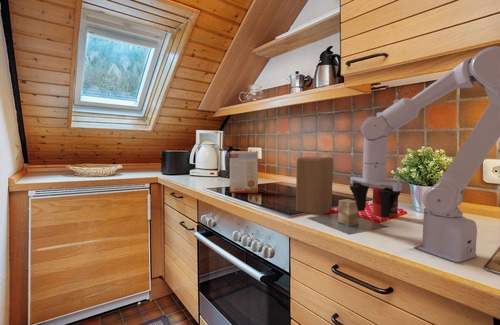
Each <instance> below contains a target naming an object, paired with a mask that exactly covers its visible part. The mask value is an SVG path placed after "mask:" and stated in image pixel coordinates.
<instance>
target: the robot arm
mask: <svg viewBox="0 0 500 325" xmlns="http://www.w3.org/2000/svg"><path fill="white" fill-rule="evenodd" d="M474 83H477V84H478V85H480V87H481V88H483V89H484V91H485V93H486V95H487V97H488V99H489V104H488V106H487V107H486V108H485V110H484V111H483V113H482V115H481V116H480V118H479V119H478V121H477V123H475V125H474V127H473V129H472V130H471V132H470V133H469V135H468V136H467V138H466V140H465V141H464V142H463V144H462V146H461V147H460V148H459V150H458V152H457V153H456V155H455V156H454V158H453V159H452V161H451V163H450V164H449V166H448V167H447V169H446V170H445V171H444V172H443V174H442V175H441V176H440V178H438V180H437V182H436V183H435V184H434V185H433V186H431V187H429V188H427V189H426V190H425V191H424V193H423V194H422V203H423V205H424V207H425V208H423V219H422V220H423V221H422V222H423V223H422V242H421V243H422V244H421V245H417V246H413V248H414V249H416V250H420V251H423V252H425V253H428V254H431V255H433V256H437V257H440V258H441V259H446V260H449V261H452V262H453V263H454V262H455V263H458V264H459V263H462V262H464V261H468V260H470V259H473V258H477V257H478V254H477V252H476V251H477V238H478V237H477V235H478V227H477V223H476V221H475V220H473V219H470V218H466V217H465V216H463V213H464V212H463V211H462V210H461V209H460V207H459V206H460V205H461V204H462V203H463V201H464V191H465V190H466V188H467V186H468V185H469V183H470V181H471V179H473V177H474V175H475V174H476V172H477V171H478V169H479V168H480V166H481V165H482V164H483V162H484V160H485V159H486V158H487V157H488V155H489V153H490V152H491V150H492V149H493V147H494V146H495V144H497V142H498V140H499V138H500V46H499V45H498V46H497V45H494V46H490V47H486V48H484V49H481V50H480V51H478V52H477V53H476V54H475V55H474V56H473V58H472V57H469V58H466V59H465V60H463V61H461V63H459V64H457V65H456V66H455V67H454V68H453V69H451V70H450V71H448V72H447V73H445V74H444V75H443V76H441V77H439V78H438V79H437V80H435V81H434V82H433V83H431V84H430V85H428V86H427V87H426V88H424V89H423V90H421V91H420V92H418V93H416V95H414V96H413V97H411V98H407V97H402V98H401V99H398V98H397V99H395V100H394V101H392V103H393V104H391V105H390V106H389V107H387V108H386V109H384V110H383V111H381V112H380V111H378V112H377V113H376V116H368V117H367V118H365V120H364V121H363V122H362V123H361V125H360V133H361V135H362V136H363V153H362V154H363V156H362V177H359V176H350V180H349V182H350V185H349V190H350V191H351V193H352V195H353V197H354V201H356V205H357V209H358V211H359V212H364V211H366V205H367V204H366V203H367V195H368V191H369V189H370V187H372V188H373V187H376V188H382V189H385V190H379V195H380V200H381V217H380V218H383V219H386V218H387V217H389V215H390V212H391V209H392V207H393V204H394V202H395V201H396V199H397V197H398V198H399V196H400V195H401V192H402V189H403V187H402V186H403V183H402V182H397V181H392V180H388V179H387V162H388V161H387V160H388V138H389V137H390V135H391V134H392V132H395V131H397V130H398V129H400V128H401V127H404V126H405V125H406V124H408V123H410V122H412V121H413V120H416V119H417V118H418V117H419V113H420V111H421V109H423V108H425V107H426V106H428V105H430V104H432V103H433V102H436V101H437V100H439V99H440V98H442V97H445V96H446V95H448V94H449V93H451V92H453V91H454V90H457V89H468V88H469V89H470V88H475V84H474ZM351 184H352V185H351ZM373 184H376V185H373ZM387 219H388V218H387Z"/></svg>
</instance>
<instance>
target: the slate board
mask: <svg viewBox="0 0 500 325" xmlns="http://www.w3.org/2000/svg"><path fill="white" fill-rule="evenodd" d="M338 213H339V212H338ZM338 213H337V212H336V213H330V214H323V215H315V216H310V217H306V219H307V220H311V221H313V222H316V223H318V224H320V225H323V226H326V227H329V228H331V229H333V230H336V231H339V232H341V233H343V234H346V235H354V234H359V233H364V232H365V233H366V232H370V231H375V230H381V229H385V228H390V226H388V225H384V224H382V223H379V222H376V221H371V220H369V219H366V218H362V217H359V221H358V225H356V226H350V227H347V226H345V225H342V224H339V223H338Z"/></svg>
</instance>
